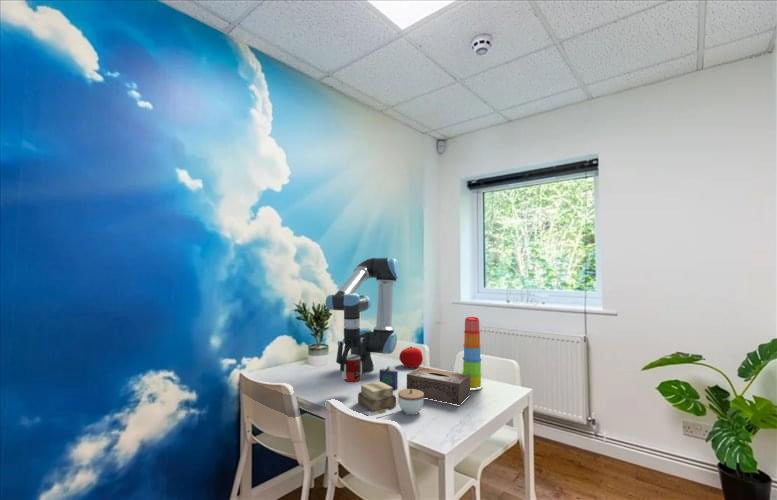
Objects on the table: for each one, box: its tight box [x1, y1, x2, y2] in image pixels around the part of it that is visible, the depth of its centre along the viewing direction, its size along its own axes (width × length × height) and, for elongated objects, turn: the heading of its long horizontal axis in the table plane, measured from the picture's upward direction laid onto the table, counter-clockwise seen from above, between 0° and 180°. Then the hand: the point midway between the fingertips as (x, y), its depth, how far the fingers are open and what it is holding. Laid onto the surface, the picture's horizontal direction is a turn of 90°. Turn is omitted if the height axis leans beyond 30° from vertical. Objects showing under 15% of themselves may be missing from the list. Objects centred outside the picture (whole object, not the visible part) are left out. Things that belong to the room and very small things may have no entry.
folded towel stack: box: [357, 380, 397, 412], centre depth 161 cm, size 12×12×8 cm
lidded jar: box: [397, 388, 425, 415], centre depth 153 cm, size 11×11×9 cm
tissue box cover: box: [406, 366, 471, 405], centre depth 172 cm, size 26×14×10 cm, turn 59°
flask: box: [379, 366, 399, 391], centre depth 182 cm, size 9×3×11 cm, turn 74°
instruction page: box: [364, 409, 395, 418], centre depth 152 cm, size 10×7×1 cm
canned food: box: [343, 353, 362, 384], centre depth 173 cm, size 8×8×11 cm
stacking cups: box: [461, 316, 483, 388], centre depth 185 cm, size 10×10×35 cm
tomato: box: [398, 346, 424, 368], centre depth 220 cm, size 12×14×11 cm
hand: (352, 376), depth 173 cm, fingers closed on canned food, 8 cm apart
